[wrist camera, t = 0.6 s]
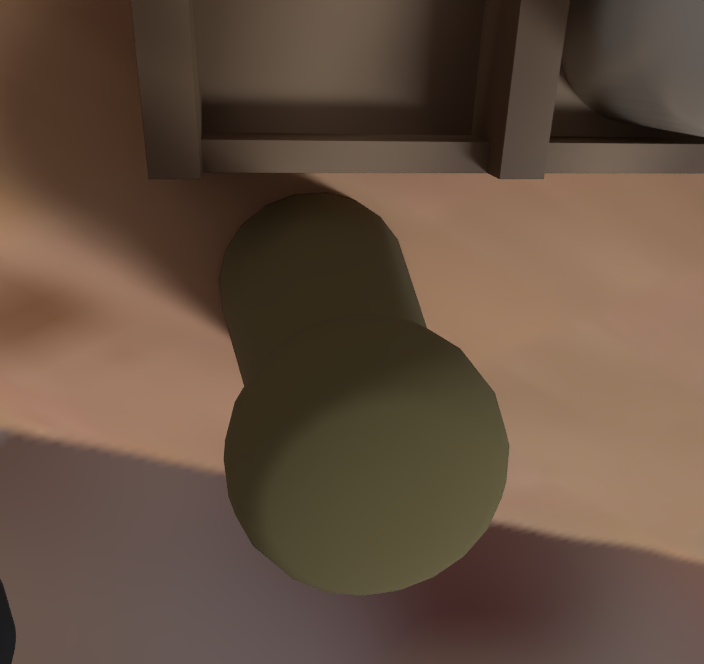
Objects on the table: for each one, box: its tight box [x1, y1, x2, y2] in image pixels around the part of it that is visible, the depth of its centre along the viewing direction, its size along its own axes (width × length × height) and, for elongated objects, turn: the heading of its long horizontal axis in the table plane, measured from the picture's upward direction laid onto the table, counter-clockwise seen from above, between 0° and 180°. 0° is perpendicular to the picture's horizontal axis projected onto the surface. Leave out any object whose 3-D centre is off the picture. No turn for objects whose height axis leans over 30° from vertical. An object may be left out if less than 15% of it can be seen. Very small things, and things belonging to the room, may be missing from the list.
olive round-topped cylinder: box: [219, 193, 509, 596], centre depth 15 cm, size 6×6×11 cm
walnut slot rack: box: [131, 0, 704, 179], centre depth 16 cm, size 19×8×3 cm, turn 88°
